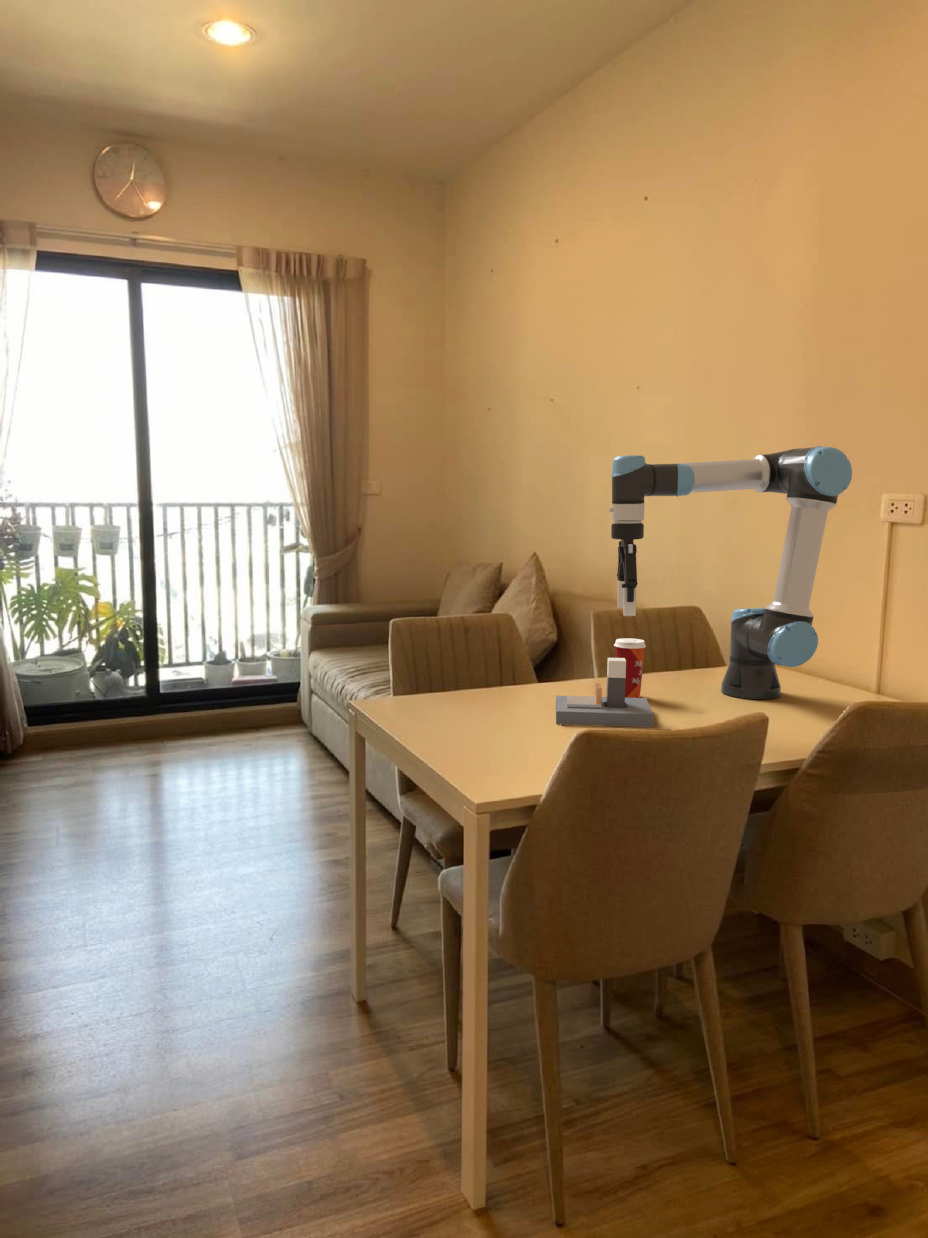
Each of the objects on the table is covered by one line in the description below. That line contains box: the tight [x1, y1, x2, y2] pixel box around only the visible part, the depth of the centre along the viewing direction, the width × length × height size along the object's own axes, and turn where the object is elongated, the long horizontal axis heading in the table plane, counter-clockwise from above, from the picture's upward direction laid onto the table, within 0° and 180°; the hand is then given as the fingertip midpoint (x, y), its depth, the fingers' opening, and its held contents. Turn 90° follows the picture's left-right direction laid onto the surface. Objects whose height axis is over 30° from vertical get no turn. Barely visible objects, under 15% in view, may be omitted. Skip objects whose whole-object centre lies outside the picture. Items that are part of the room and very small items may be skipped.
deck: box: [555, 695, 654, 728], centre depth 212 cm, size 22×16×3 cm
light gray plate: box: [565, 682, 603, 708], centre depth 212 cm, size 8×8×4 cm
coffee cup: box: [613, 637, 647, 698], centre depth 232 cm, size 8×8×15 cm
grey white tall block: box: [605, 657, 626, 708], centre depth 211 cm, size 4×4×14 cm
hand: (626, 611), depth 212 cm, fingers open, 13 cm apart
